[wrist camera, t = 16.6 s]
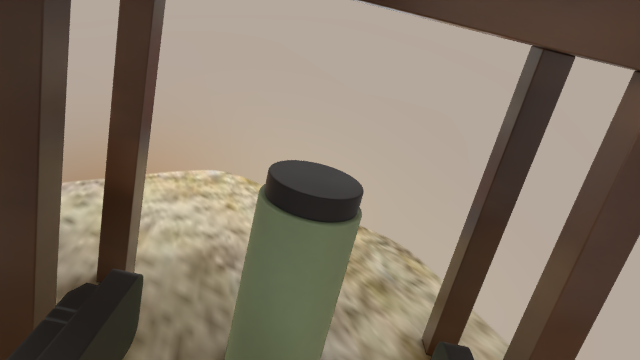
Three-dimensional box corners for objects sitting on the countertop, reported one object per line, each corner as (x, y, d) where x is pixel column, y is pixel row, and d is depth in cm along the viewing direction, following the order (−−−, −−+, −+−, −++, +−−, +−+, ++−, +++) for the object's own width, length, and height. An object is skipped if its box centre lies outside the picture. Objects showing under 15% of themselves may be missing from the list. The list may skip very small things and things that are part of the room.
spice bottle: (213, 392, 21) (255, 185, 18) (234, 328, 26) (271, 150, 22) (311, 413, 22) (371, 212, 18) (316, 347, 26) (365, 172, 22)
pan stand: (-73, 476, 16) (-134, -412, 8) (165, 201, 37) (208, -116, 30) (524, 595, 17) (951, -112, 9) (420, 259, 38) (523, -34, 31)
